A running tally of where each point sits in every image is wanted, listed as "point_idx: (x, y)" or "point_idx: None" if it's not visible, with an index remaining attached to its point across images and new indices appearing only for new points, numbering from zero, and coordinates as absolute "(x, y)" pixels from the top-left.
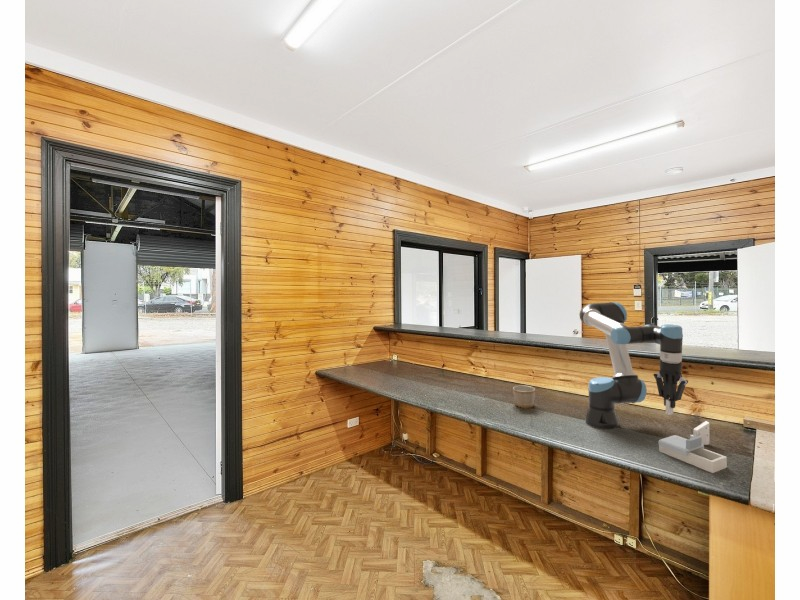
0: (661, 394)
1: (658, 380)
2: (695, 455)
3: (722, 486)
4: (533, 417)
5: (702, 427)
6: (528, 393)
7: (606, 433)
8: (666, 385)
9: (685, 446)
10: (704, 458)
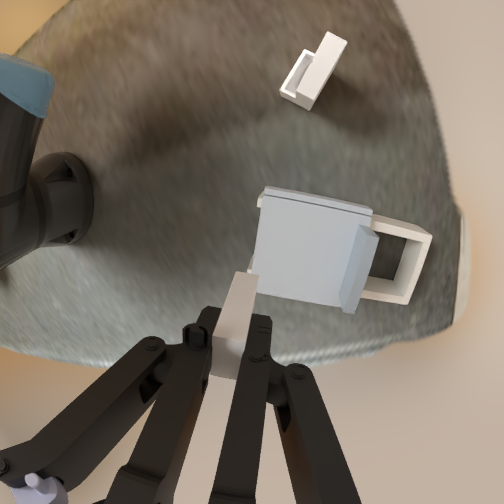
0: (161, 387)
1: (85, 477)
2: (365, 297)
3: (415, 331)
4: (18, 290)
5: (327, 74)
6: None
7: (105, 255)
8: (175, 484)
9: (332, 278)
10: (388, 298)
